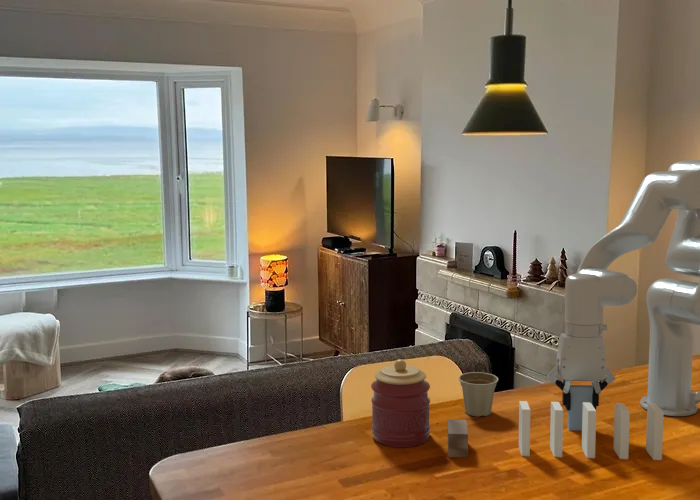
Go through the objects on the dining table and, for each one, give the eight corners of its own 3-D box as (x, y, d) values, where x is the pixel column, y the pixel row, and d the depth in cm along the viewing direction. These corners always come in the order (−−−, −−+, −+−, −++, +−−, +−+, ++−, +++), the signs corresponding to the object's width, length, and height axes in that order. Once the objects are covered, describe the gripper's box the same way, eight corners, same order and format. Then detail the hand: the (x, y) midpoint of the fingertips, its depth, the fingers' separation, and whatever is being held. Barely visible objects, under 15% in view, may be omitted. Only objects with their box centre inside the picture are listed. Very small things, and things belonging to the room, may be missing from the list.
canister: (438, 430, 157) (437, 354, 154) (419, 452, 145) (418, 371, 143) (384, 422, 162) (383, 349, 160) (362, 443, 150) (361, 364, 148)
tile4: (557, 447, 146) (558, 401, 145) (562, 457, 141) (563, 410, 140) (550, 447, 146) (550, 401, 145) (554, 457, 141) (555, 410, 140)
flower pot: (498, 420, 162) (498, 385, 161) (457, 418, 164) (457, 383, 162) (497, 406, 171) (498, 372, 170) (459, 404, 173) (459, 371, 172)
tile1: (653, 449, 144) (655, 403, 143) (661, 460, 139) (663, 412, 138) (645, 449, 144) (647, 403, 143) (653, 459, 139) (655, 412, 138)
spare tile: (567, 427, 157) (568, 384, 156) (590, 427, 156) (591, 385, 155) (569, 430, 155) (570, 387, 154) (592, 430, 155) (593, 387, 153)
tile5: (526, 446, 147) (526, 401, 146) (529, 456, 142) (530, 409, 141) (518, 446, 147) (519, 401, 146) (521, 456, 142) (522, 409, 141)
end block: (466, 441, 150) (466, 419, 149) (468, 457, 142) (468, 434, 141) (447, 441, 150) (447, 419, 150) (448, 456, 142) (448, 433, 142)
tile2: (621, 449, 145) (622, 403, 143) (628, 459, 140) (629, 411, 139) (613, 448, 145) (614, 402, 144) (620, 458, 140) (621, 411, 139)
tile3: (589, 448, 145) (590, 402, 144) (595, 458, 141) (596, 410, 139) (581, 447, 146) (582, 402, 144) (586, 458, 141) (588, 410, 139)
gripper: (617, 326, 156) (615, 403, 158) (540, 325, 158) (538, 402, 160) (626, 334, 148) (624, 415, 150) (545, 333, 150) (544, 414, 152)
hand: (580, 407), depth 155 cm, fingers closed on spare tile, 4 cm apart
